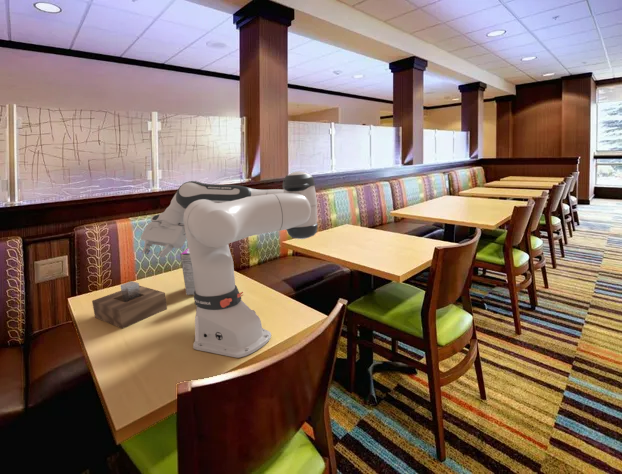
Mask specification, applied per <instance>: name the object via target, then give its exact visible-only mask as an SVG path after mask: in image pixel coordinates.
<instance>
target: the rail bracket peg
mask: <svg viewBox="0 0 622 474" xmlns="http://www.w3.org/2000/svg"><path fill="white" fill-rule="evenodd" d="M139 286H140V284H139V283H138V282H136V281H132V280H130V281H128V282H124V283H122V284H120V286H119V287H120V289H121V290H120V291H122V297H123V302H128V301H130V300H133V299H135V298H138V297H141V295H140V289H139Z"/></svg>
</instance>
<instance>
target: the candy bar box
mask: <svg viewBox="0 0 622 474" xmlns="http://www.w3.org/2000/svg"><path fill="white" fill-rule="evenodd" d="M180 259H181V260H180V261H181V269H182V274H183V281H184V289H185V295H186V296H194V291H195V285H194V277H193V269H192V262H191V258H190V253H189V248H186V249H185V250H184V251H182V252H181V253H180Z"/></svg>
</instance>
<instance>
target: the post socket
mask: <svg viewBox="0 0 622 474" xmlns="http://www.w3.org/2000/svg"><path fill="white" fill-rule="evenodd" d="M139 289H140V295H141V297H138V298H135V299H133V300H130V301H128V302H123V297H122V291H121V290H119V291H116V292H113V293H110V294H107V295H105V296H102V297H101V296H100V297H99V298H96V299H93V300H91V302H92V308H93V313H94V314H93V315H94V318H95V319H98V320H100V321H103V322H105V323H108V324H111V325H112V326H116V327H118V328H120V329H125V328H128V327H130V326H132V325H134V324H136V323H139V322H140V321H143V320H145V319H148V318H150V317H152V316H154V315H157V314H159V313H161V312H163V311H165V310H167V309H168V307H167V306H168V305H167V299H166V298H167V297H166V292H164V291H160V290H156V289H153V288H149V287H146V286H143V285H139Z"/></svg>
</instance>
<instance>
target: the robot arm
mask: <svg viewBox="0 0 622 474" xmlns="http://www.w3.org/2000/svg"><path fill="white" fill-rule="evenodd" d="M315 185H316V183H315V179H314V177H313V175H312V174H311V173H308V172H305V171H300V170H299V171H294V172H290V173H289V174H287V175H285V177H284V178H283V181H282V189H281V188H280V189H279V188H277V189H276V188H275V189H274V188H273V189H272V188H271V189H256V188H251V187H247V186H243V185H237V184H236V185H235V184H219V183H218V184H217V183H216V184H214V183H204V182H199V181H196V180H195V181H194V180H191V181H186V182H184V183H182V184H181V185H180V186H179V187H178V189H177V190H176V193H175V194H174V195H173V197H172V199H171V201H170V204H169V206H167V207H166V209H165V210H164V211H163V212H161V213H158V214H155V215H152V216H151V218H150V222H149V223H148V224H147V226H146V227H145V228H144V230H143V231H142V234H141V235H140V240H141V241H143V242H144V244H143V245H144V246H143V249H142V253H143V254H144V255H149V253H150V252H151V250H150V247H152V246H153V245H154V246H155V245H157V246H161V247H164V248H163V249H162V250H159V253H158V256H159V257H160V258H164V259H165V257H166V256H167V255H168V254H169V253H170V252H171V251H172V250H173V249H181V248H182V247H183V246H184V245H185V243H187V247H188V248H189V253H190V258H191V262H192V269H193V277H194V285H195V291H194V295H193V300H194V305H195V306H196V313H195V316H194V333H195V334H194V342H193V345H192V347H193V349H194V350H197V351H202V352H206V353H212V354H217V355H222V356H226V357H232V358H235V359H236V358H239V359H240V358H243V357H247V356H249V355H251V354H253V353H254V352H257V351H258V350H259V349H261V348H262V347H264V346H265V345H266V344H268V342H269V341H270V340H271V337H272V333H271V331H269V330H267V329H265V328H264V327H263V326H262V320H261V318H260V316H259V315H257V313H256V311H255V309H251V308H250V307H249V306H248V305H247V304H246V303H245V302H244V301H243V300H242V297H243V296H244V292H243V291H241V292H240V291H239V288H238V286H237V285H236V279H235V278H236V277H235V269H234V268H235V266H234V260H233V257H232V253H231V250H230V246H229V244H230V243H234V242H237V241H240V240H243V239H246V238H249V237H253V236H257V235H263V234H269V233H273V232H280V231H285V230H286V232H287V234H288V236H290V237H291V238H292V239H297V240H306V239H309V238H312V237H314V236H315V235H316V234H317V233H318V226H319V224H318V198H317V192H316V187H315ZM188 248H187V249H188Z"/></svg>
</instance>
